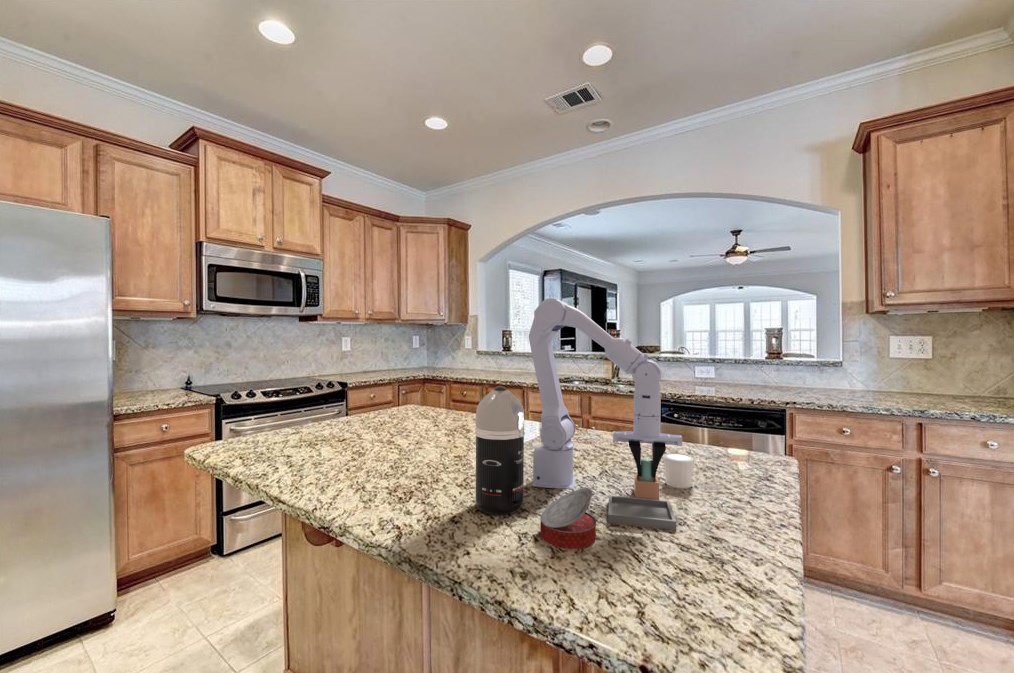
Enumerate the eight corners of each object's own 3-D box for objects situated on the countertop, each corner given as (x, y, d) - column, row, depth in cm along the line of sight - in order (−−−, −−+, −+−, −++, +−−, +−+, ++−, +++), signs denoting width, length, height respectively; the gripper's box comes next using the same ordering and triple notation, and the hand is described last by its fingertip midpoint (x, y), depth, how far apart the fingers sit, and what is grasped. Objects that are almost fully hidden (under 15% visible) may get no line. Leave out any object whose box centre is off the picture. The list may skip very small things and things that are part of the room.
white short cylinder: (697, 492, 98) (697, 461, 98) (665, 489, 100) (665, 459, 100) (690, 482, 105) (691, 453, 105) (661, 480, 107) (661, 451, 107)
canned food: (585, 576, 72) (580, 536, 68) (532, 553, 78) (524, 515, 73) (608, 523, 80) (605, 485, 76) (559, 506, 86) (554, 469, 81)
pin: (640, 495, 95) (641, 461, 95) (640, 491, 97) (640, 458, 97) (652, 496, 94) (652, 462, 94) (651, 492, 97) (651, 459, 96)
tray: (608, 525, 81) (608, 514, 81) (608, 504, 91) (608, 495, 91) (676, 532, 78) (676, 521, 78) (669, 510, 88) (669, 501, 88)
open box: (634, 499, 94) (635, 481, 94) (633, 491, 99) (634, 473, 99) (659, 501, 93) (659, 483, 93) (656, 493, 97) (657, 475, 97)
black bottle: (530, 501, 92) (531, 384, 92) (515, 520, 83) (516, 390, 83) (485, 495, 96) (486, 382, 96) (466, 513, 86) (467, 387, 86)
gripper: (613, 415, 93) (612, 478, 93) (684, 419, 90) (684, 484, 90) (613, 410, 100) (612, 468, 100) (679, 413, 97) (679, 474, 97)
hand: (646, 475), depth 96 cm, fingers closed on pin, 2 cm apart
